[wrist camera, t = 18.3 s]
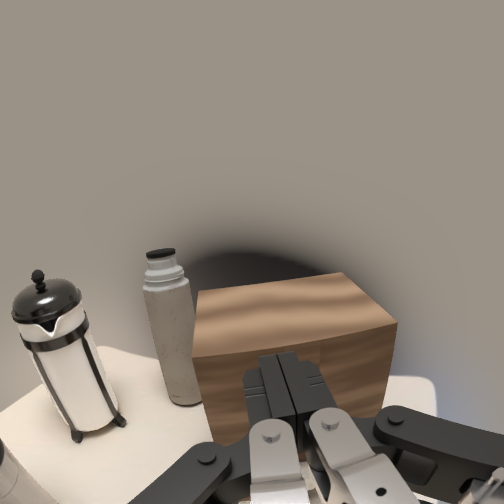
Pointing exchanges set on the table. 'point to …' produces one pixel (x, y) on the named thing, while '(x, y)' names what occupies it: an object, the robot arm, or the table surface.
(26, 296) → the coffee press
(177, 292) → the thermos bottle
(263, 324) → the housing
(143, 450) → the table surface
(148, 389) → the table surface
